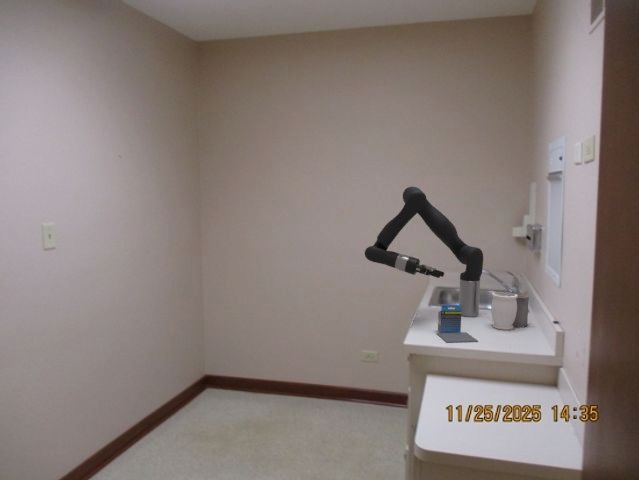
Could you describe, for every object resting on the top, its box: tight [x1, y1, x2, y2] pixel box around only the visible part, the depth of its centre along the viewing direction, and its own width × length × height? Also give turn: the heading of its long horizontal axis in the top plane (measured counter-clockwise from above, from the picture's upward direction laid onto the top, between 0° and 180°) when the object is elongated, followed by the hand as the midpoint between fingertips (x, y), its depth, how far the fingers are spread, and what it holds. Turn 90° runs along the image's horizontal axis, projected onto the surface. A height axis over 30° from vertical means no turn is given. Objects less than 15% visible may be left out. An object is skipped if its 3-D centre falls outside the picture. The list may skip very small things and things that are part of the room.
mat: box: [436, 331, 479, 344], centre depth 194 cm, size 12×13×1 cm
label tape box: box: [437, 304, 462, 333], centre depth 201 cm, size 9×4×12 cm, turn 92°
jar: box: [490, 291, 518, 331], centre depth 208 cm, size 11×10×15 cm
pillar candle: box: [510, 292, 529, 328], centre depth 213 cm, size 10×10×15 cm
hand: (442, 275), depth 208 cm, fingers open, 8 cm apart
